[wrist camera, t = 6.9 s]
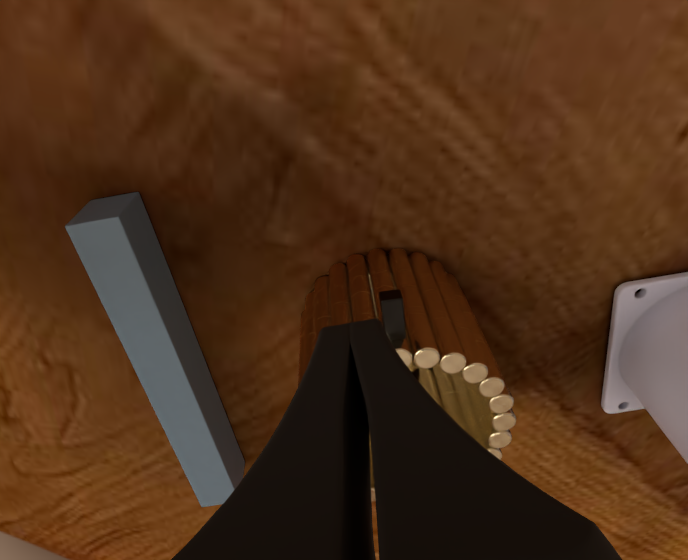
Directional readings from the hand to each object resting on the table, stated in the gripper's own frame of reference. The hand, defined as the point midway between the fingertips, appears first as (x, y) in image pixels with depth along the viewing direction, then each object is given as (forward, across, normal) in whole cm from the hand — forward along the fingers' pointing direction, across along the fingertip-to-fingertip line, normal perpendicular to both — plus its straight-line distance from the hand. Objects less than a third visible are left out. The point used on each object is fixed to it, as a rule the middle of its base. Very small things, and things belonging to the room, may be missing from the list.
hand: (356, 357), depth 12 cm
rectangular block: (+10, +9, +6) cm, 15 cm away
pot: (+9, +4, +6) cm, 12 cm away
